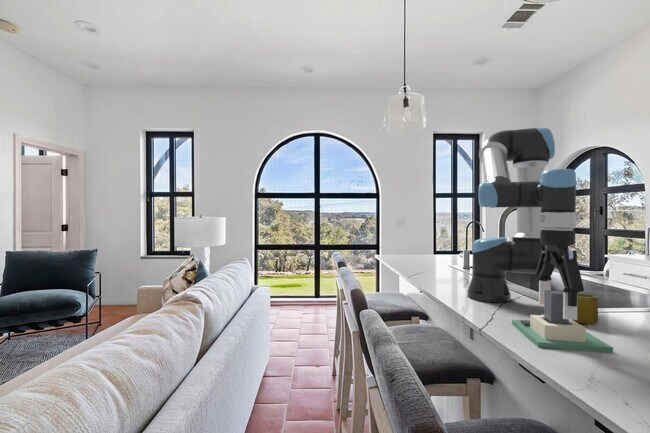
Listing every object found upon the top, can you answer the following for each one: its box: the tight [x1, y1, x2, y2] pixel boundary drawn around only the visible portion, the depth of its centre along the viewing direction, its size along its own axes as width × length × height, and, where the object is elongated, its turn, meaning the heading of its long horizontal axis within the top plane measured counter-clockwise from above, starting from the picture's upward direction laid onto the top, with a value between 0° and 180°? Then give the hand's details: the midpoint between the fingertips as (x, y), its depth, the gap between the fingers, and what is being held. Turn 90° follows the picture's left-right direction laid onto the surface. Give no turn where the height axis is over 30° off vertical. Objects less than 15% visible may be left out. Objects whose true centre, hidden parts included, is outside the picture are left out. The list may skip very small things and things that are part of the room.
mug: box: [573, 292, 599, 325], centre depth 104 cm, size 12×10×10 cm
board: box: [511, 313, 614, 354], centre depth 90 cm, size 18×16×5 cm
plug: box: [543, 289, 569, 325], centre depth 88 cm, size 4×4×11 cm
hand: (556, 311), depth 88 cm, fingers open, 13 cm apart
